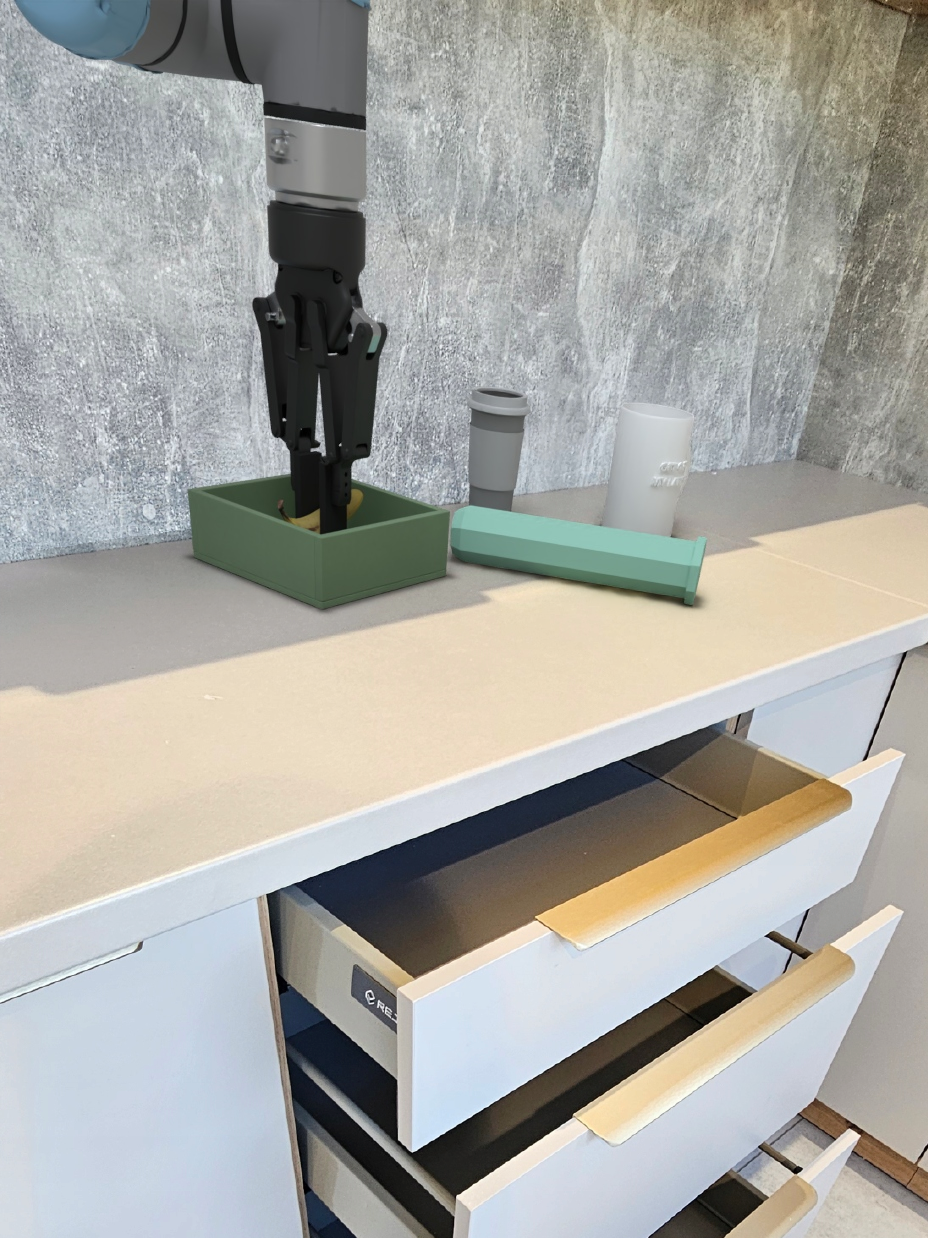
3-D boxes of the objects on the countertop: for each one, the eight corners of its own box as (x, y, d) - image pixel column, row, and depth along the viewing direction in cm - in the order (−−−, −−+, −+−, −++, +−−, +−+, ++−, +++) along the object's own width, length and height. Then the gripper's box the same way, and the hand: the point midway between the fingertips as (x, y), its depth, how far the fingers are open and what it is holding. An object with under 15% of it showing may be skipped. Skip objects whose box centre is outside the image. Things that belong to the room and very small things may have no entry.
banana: (351, 531, 96) (351, 484, 94) (369, 537, 95) (370, 490, 93) (271, 546, 90) (268, 496, 88) (289, 553, 89) (287, 503, 87)
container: (448, 490, 96) (707, 531, 93) (461, 504, 101) (706, 543, 98) (439, 558, 98) (692, 601, 95) (452, 568, 103) (692, 609, 100)
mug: (703, 535, 117) (730, 414, 109) (645, 549, 110) (669, 421, 102) (646, 517, 121) (668, 399, 113) (587, 529, 114) (605, 404, 106)
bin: (193, 557, 92) (187, 489, 89) (322, 531, 103) (321, 468, 99) (322, 609, 86) (321, 538, 82) (446, 576, 96) (450, 511, 92)
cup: (452, 509, 114) (460, 383, 106) (508, 512, 116) (520, 387, 108) (467, 528, 109) (477, 396, 101) (526, 530, 111) (540, 401, 103)
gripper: (210, 186, 77) (233, 522, 93) (356, 213, 71) (354, 568, 87) (282, 192, 82) (292, 511, 98) (425, 218, 76) (411, 554, 92)
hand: (321, 537), depth 93 cm, fingers closed on banana, 2 cm apart
